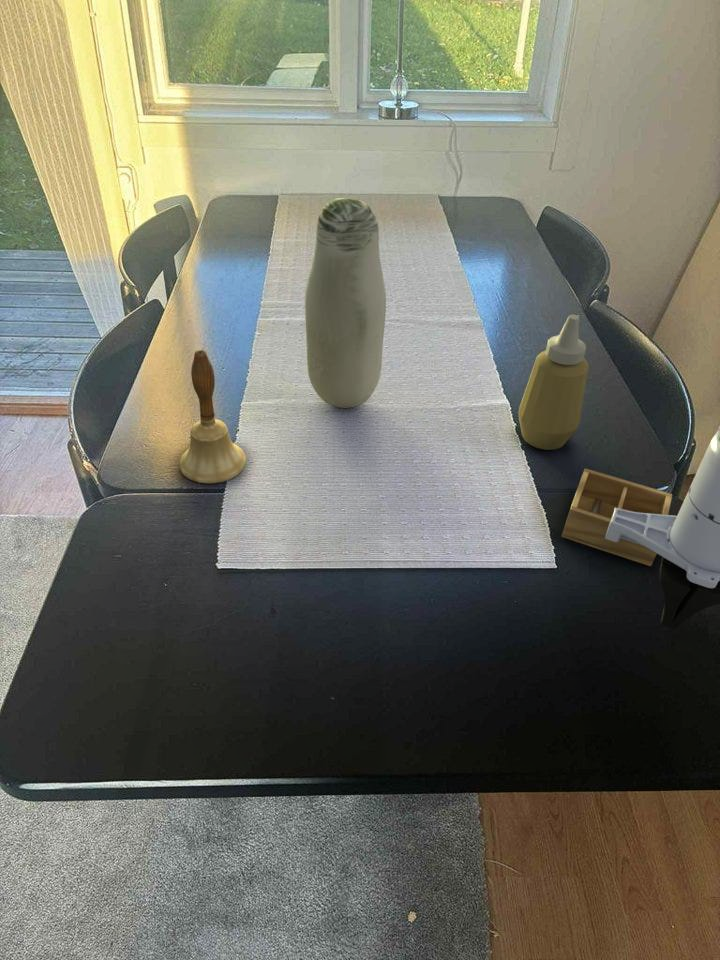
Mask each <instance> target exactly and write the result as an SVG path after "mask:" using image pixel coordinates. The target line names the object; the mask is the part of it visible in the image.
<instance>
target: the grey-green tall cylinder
mask: <svg viewBox="0 0 720 960" xmlns="http://www.w3.org/2000/svg"><path fill="white" fill-rule="evenodd" d="M378 222H379V221H378V219H377V216H376V214H375V211H374V210H373V209H372V208H371V206H370V205H368V204H367V203H366V202H364V201H363V200H362V201H361V200H359V199H357V198H353V197H338V198H334V199H331V200H329V201H328V202H327V203H326V204H325V205H323V208H322V209H321V211H320V213H319V215H318V218H317V222H316V227H315V243H314V249H313V257H312V262H311V266H310V269H309V273H308V277H307V282H306V285H305V293H304V322H305V338H306V339H305V341H306V366H307V373H308V378H309V381H310V385H311V386H312V389H313V390H314V392H315V393H316V394H317V396H318V397H319V398H320V399H321V400H322V401H324V402H325V403H328V404H330V405H332V406H334V407H337V408H342V409H343V408H344V409H347V408H349V409H350V408H355V407H358V406H360V405H362V404H364V403H365V402H366V401H368V400H369V399H370V398H371V397H372V395H373V394H374V392H375V390H376V388H377V386H378V383H379V381H380V377H381V373H382V362H383V348H384V347H383V345H384V335H385V326H386V313H387V296H386V295H387V293H386V287H385V279H384V273H383V267H382V264H381V263H382V262H381V258H380V257H381V256H380V244H379V243H380V241H379V240H380V230H379V229H380V228H379V223H378Z"/></svg>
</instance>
